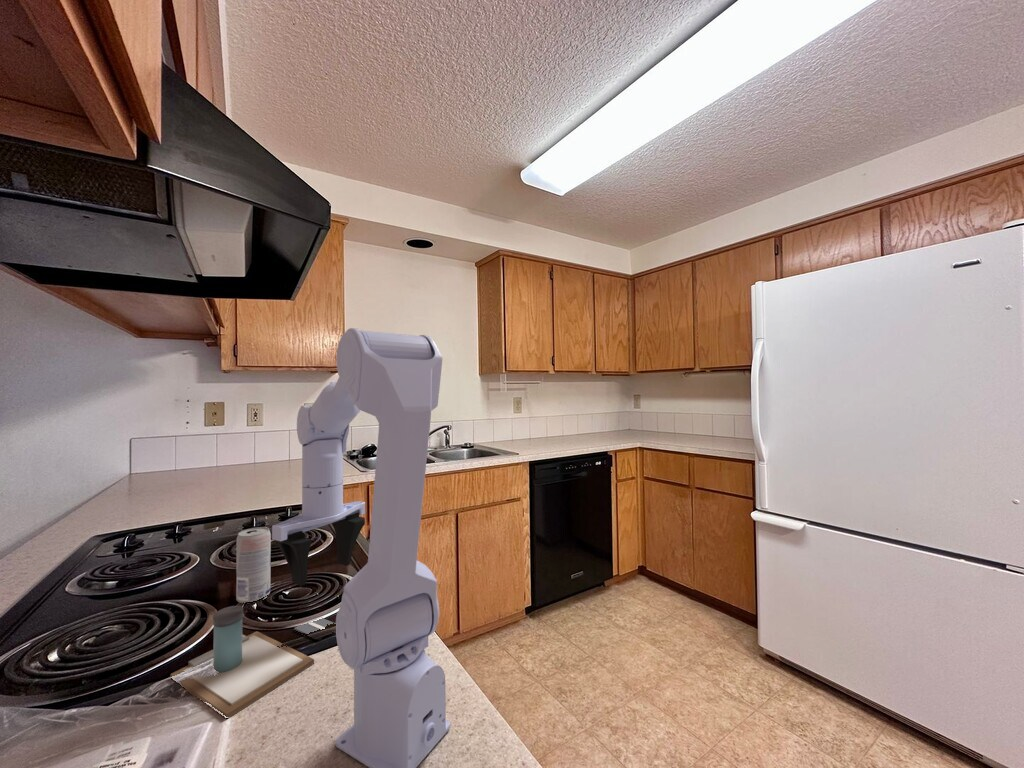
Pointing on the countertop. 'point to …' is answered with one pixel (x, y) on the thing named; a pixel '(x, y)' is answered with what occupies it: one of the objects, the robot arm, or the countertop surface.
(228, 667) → the tumbler
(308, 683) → the countertop surface
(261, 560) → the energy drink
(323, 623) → the plate
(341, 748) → the robot arm
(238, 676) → the clipboard
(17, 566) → the countertop surface
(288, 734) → the countertop surface
